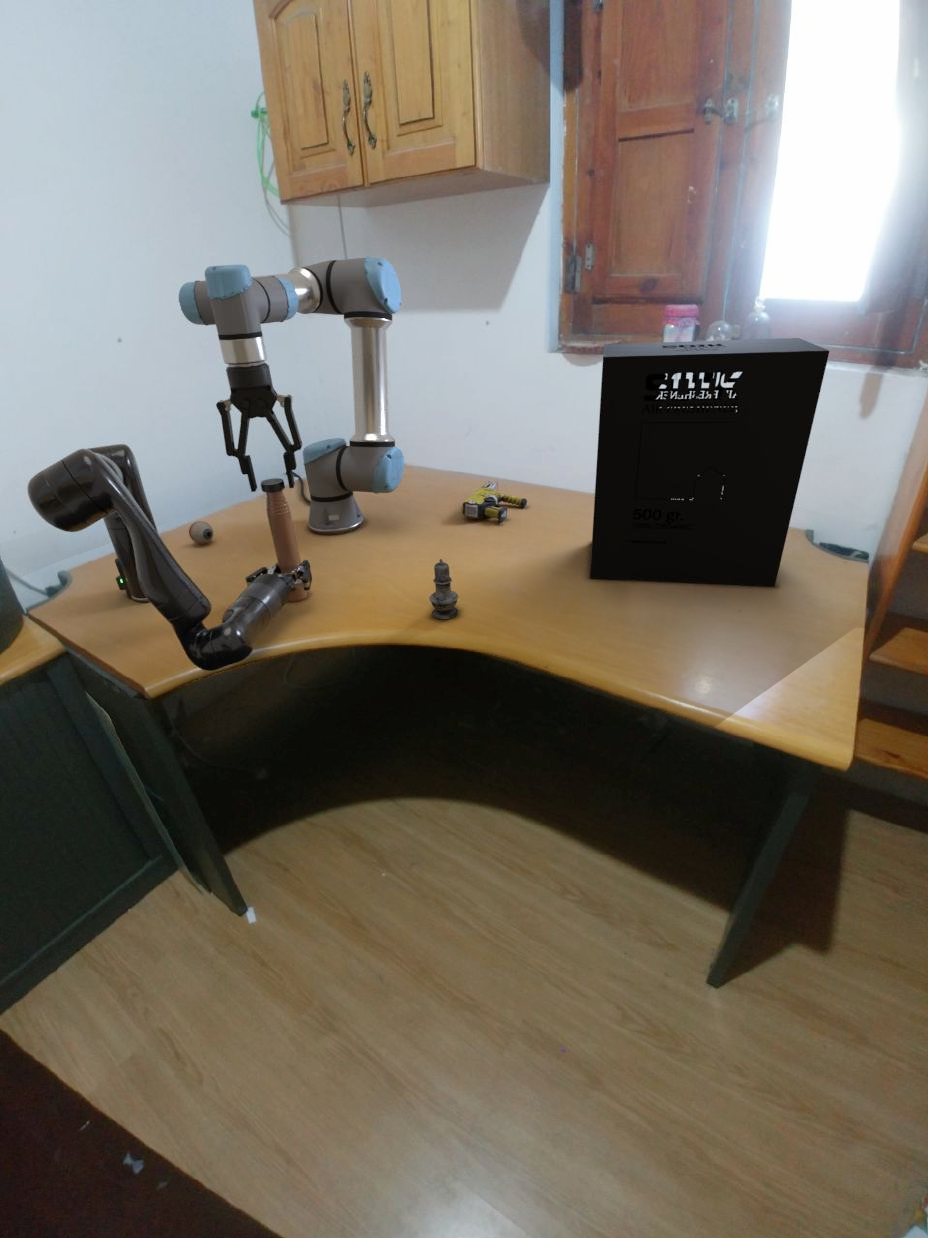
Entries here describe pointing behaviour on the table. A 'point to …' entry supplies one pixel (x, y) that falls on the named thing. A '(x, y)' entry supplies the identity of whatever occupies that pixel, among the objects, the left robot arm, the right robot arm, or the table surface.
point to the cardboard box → (701, 458)
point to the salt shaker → (443, 593)
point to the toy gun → (489, 503)
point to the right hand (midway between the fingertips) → (273, 487)
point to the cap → (272, 485)
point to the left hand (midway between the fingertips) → (295, 563)
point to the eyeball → (201, 532)
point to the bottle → (284, 537)
